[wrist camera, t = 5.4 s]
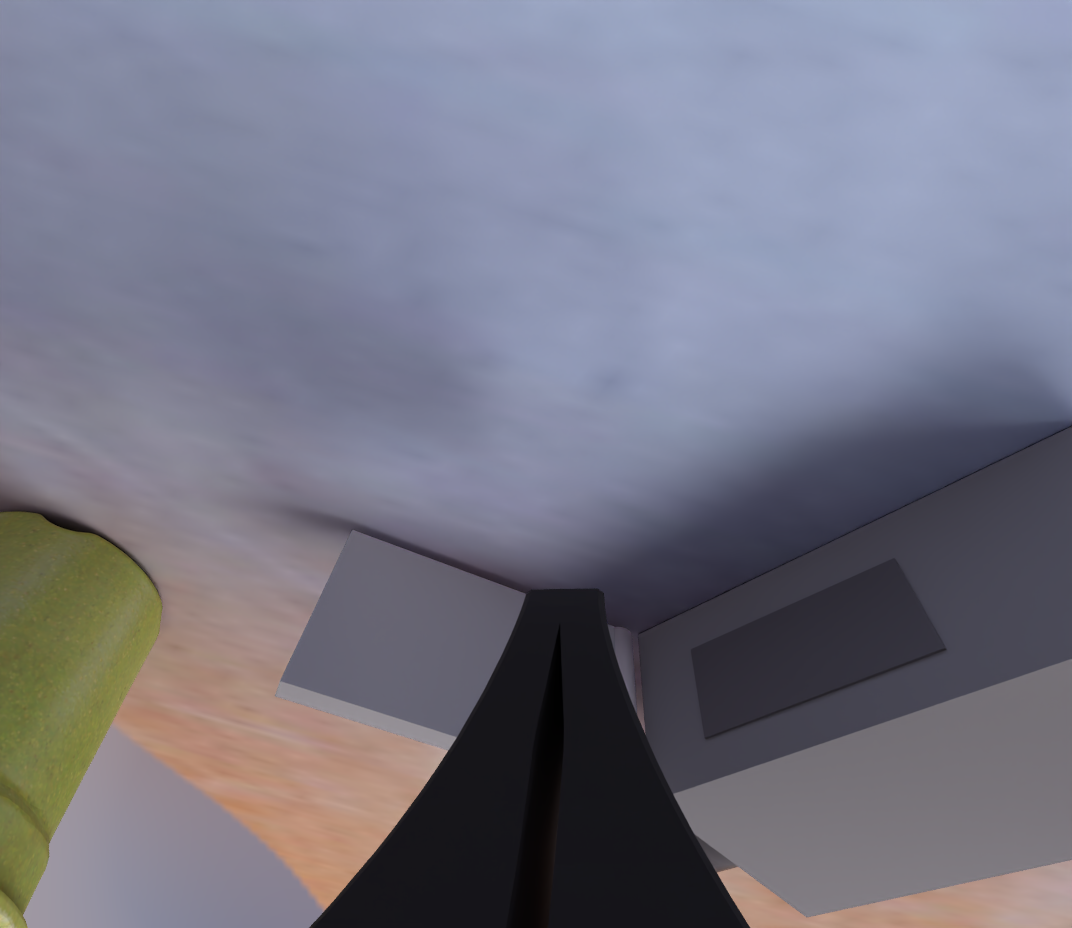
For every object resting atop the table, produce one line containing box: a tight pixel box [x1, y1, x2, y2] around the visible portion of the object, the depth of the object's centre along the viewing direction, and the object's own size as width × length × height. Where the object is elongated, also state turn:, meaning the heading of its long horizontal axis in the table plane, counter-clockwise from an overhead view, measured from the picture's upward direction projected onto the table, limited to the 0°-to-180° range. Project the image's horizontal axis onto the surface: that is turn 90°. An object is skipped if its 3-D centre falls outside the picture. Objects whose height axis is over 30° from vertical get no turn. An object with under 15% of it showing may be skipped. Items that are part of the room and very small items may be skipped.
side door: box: [275, 530, 637, 751], centre depth 16 cm, size 9×1×5 cm, turn 66°
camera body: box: [638, 426, 1072, 917], centre depth 16 cm, size 14×8×6 cm, turn 131°
